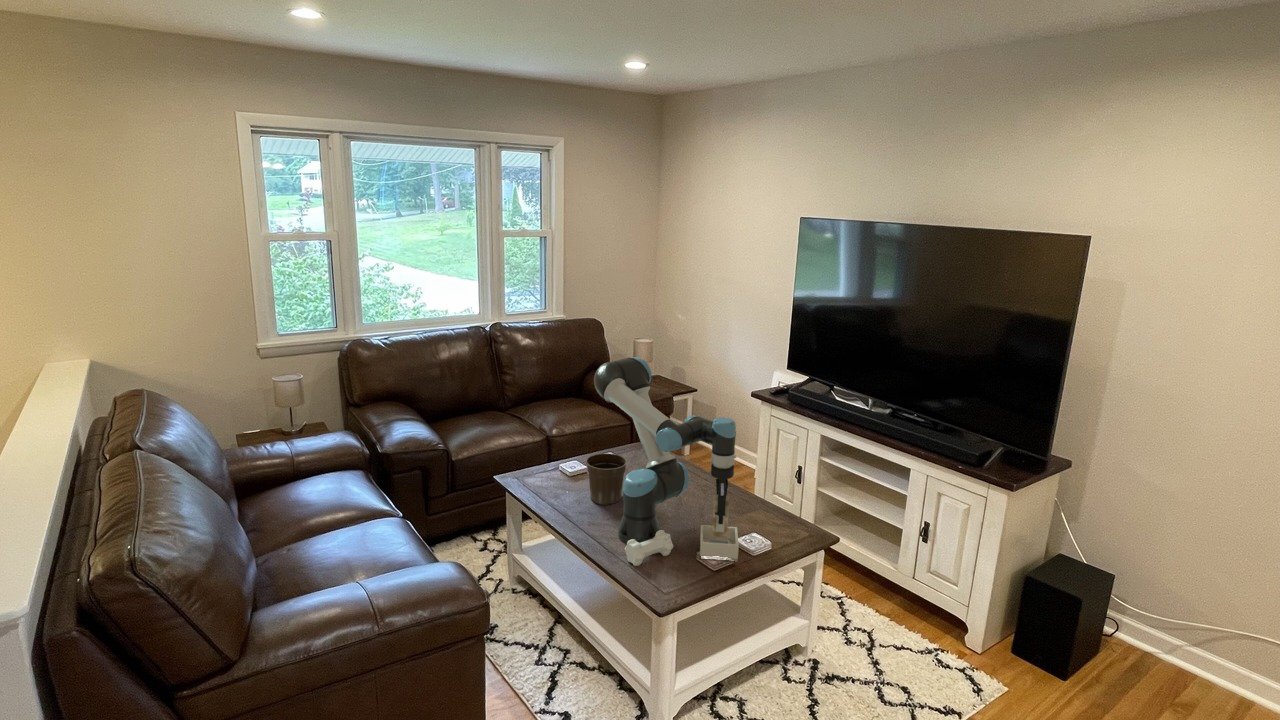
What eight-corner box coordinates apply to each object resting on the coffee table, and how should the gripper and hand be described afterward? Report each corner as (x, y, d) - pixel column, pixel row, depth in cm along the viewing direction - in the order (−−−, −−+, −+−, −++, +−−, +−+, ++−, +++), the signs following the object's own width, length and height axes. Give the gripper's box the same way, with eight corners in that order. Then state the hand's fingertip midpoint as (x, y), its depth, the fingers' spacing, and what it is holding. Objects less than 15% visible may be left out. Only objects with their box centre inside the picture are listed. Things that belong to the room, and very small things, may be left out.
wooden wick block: (712, 536, 227) (714, 498, 224) (712, 532, 230) (713, 494, 227) (727, 537, 227) (729, 499, 223) (727, 533, 229) (728, 495, 226)
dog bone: (660, 548, 232) (659, 526, 231) (675, 557, 225) (674, 534, 224) (623, 560, 224) (622, 537, 223) (638, 570, 217) (637, 546, 216)
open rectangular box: (699, 559, 224) (700, 543, 223) (700, 540, 237) (700, 524, 235) (737, 561, 223) (738, 545, 222) (736, 542, 235) (737, 527, 234)
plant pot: (628, 490, 275) (629, 454, 271) (624, 508, 259) (624, 470, 255) (589, 488, 276) (589, 451, 272) (582, 506, 261) (582, 467, 257)
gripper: (735, 474, 214) (731, 541, 220) (733, 455, 230) (730, 518, 235) (711, 473, 215) (708, 539, 220) (711, 454, 230) (708, 517, 236)
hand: (719, 528), depth 228 cm, fingers closed on wooden wick block, 3 cm apart
